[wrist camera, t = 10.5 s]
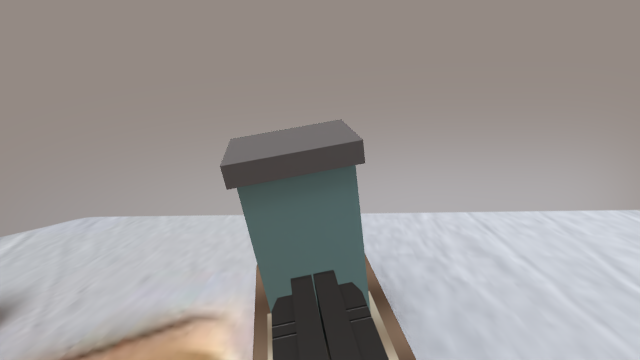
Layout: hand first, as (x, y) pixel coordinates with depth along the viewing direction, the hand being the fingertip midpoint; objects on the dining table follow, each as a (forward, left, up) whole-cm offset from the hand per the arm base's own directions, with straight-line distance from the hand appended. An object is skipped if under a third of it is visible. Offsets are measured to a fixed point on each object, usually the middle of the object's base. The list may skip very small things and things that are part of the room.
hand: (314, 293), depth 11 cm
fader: (-4, +7, -10) cm, 13 cm away
